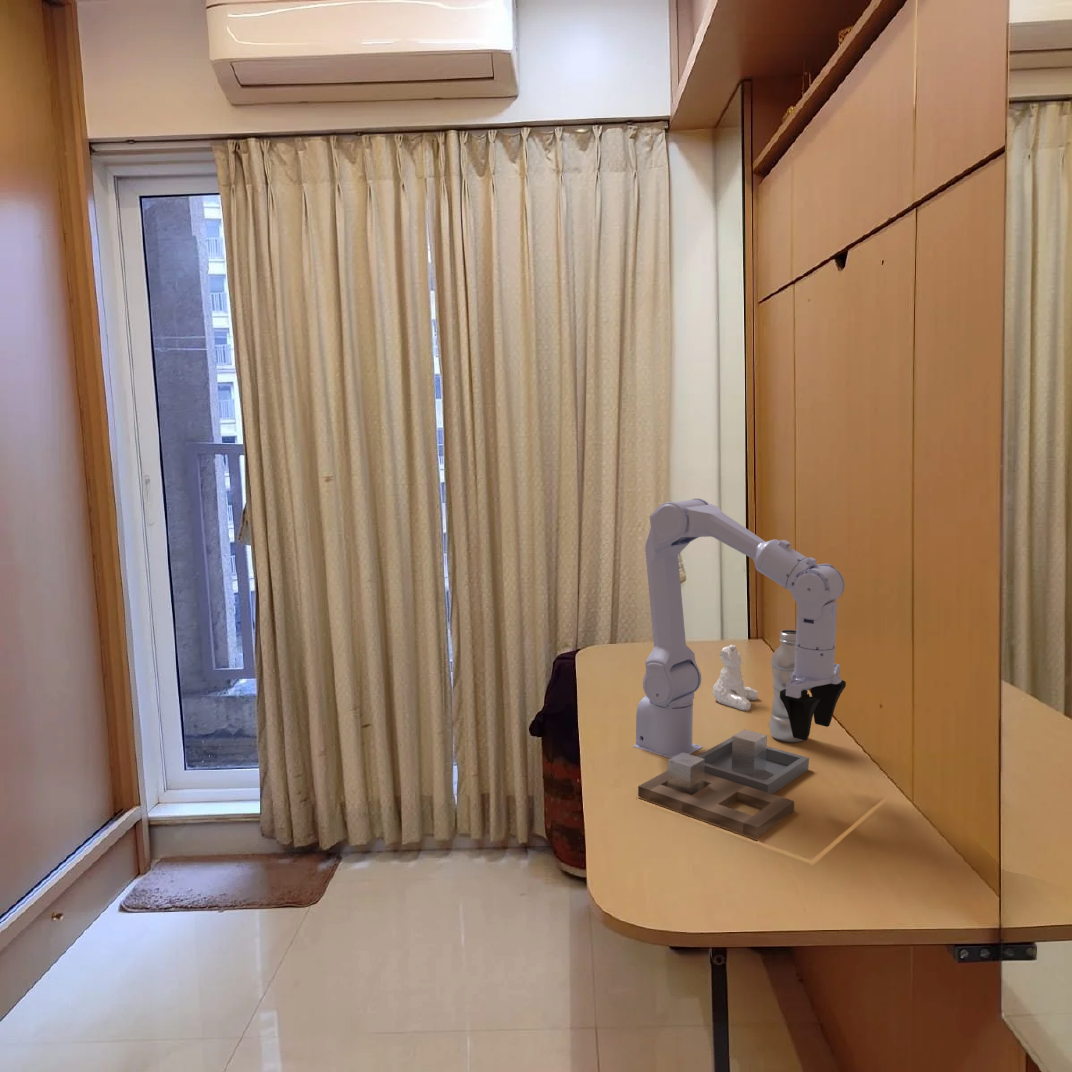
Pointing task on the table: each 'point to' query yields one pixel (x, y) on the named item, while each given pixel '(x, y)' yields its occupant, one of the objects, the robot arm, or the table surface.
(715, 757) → the tray
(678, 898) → the table surface
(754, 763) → the block
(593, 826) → the table surface
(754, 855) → the table surface
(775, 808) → the wooden board with recesses
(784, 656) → the plastic bottle
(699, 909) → the table surface
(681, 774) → the block
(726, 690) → the sitting furry creature
